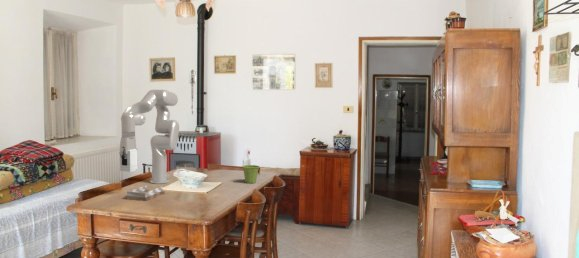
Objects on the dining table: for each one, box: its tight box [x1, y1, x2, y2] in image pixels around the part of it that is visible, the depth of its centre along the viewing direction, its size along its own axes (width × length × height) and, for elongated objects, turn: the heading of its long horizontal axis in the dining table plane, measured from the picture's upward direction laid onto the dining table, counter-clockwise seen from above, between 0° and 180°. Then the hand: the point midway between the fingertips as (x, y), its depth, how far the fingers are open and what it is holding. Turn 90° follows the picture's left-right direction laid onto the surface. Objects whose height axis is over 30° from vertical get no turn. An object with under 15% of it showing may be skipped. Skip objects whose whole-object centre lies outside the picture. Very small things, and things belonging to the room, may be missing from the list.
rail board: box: [124, 185, 166, 202], centre depth 274 cm, size 20×14×4 cm
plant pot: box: [242, 164, 261, 184], centre depth 320 cm, size 12×12×11 cm
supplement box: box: [119, 148, 138, 173], centre depth 278 cm, size 7×7×13 cm
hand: (128, 164), depth 279 cm, fingers closed on supplement box, 7 cm apart
